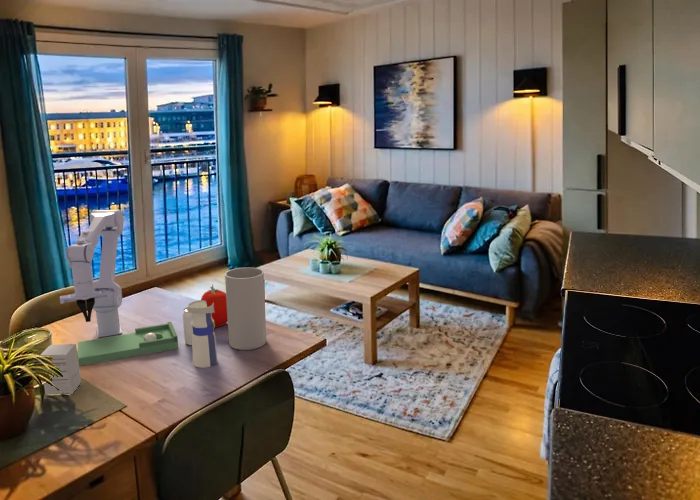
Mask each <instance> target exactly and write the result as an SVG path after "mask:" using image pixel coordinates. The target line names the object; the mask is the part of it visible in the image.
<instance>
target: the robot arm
mask: <svg viewBox="0 0 700 500" xmlns="http://www.w3.org/2000/svg"><path fill="white" fill-rule="evenodd" d="M89 222H90V224H89V227H88V229H86V230H83V231H82V232H81V233H80V235H79V237H77V240H76V241H75V242H74V244H71V245H69V246H68V247H67V249H66V254H65V257H66V260H67V262H68V265H69V266H68V267H69V268H70V269H71V272H72V280H73V289H74V292H73V293H71V294H66V295H60V296H59V302H60V305H63V304H65V303H72V302H76V305H77V308H79V310H80V312H81V313H82V314H83V317H84V319H85V323H88V322H91V319H92V313H93V311H94V312H95V316H96V317H95V318H96V324H97V326H96V335H97V338H105V337H112V336H118V335H123V331H122V325H121V323H120V317H119V308H120V307H121V305H122V303H123V294H122V293H123V292H122V286H120V285H119V284H118V283H117V282H115V273H116V261H117V252H118V241H119V236H121V235H122V234H123V230H124V223H125V219H124V214H123V212H122V211H121V209H105V210H104V209H93V210H92V211H91V212H90V215H89ZM99 236H100V237H102V247H101V257H100V266H99V277H98V278H99V279H98V281H97V282H96V283H94V276H93V268H92V261H93V259H94V254H95V248H96V246H97V245H98V244H99V241H100V237H99Z"/></svg>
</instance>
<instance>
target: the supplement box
mask: <svg viewBox="0 0 700 500" xmlns="http://www.w3.org/2000/svg"><path fill="white" fill-rule="evenodd" d="M40 355H44V356H50V357H54V359H53V360H52V361H51V362H52V364H53V365H54V366H56V367H58V368H59V370H60V371H61V373H62V375H63V377H56V376H54V377H52V383H53V384H54V385H55V386H56V387H57V388H58V389H59V391H58V390H57V389H56V388H55V387H54V386H51V385H50V384H48V383H44V382H43V387H44V393H45V395H46V394H72V393H73V392H74V391H75V390H76V389H77V390H78V388H79V387H80V386H79V384H80V383H81V384H82V377H81V371H80V370H81V369H80V366H79V362H78V348H77V344H76V343H64V344H63V343H62V344H61V343H60V344H50V346H49V345H48V347H46V349H44V350H43V351H42V352H41V354H40ZM81 384H80V385H81ZM78 386H79V387H78ZM77 387H78V388H77ZM77 390H76V391H77ZM76 391H75V392H76ZM75 392H74V393H75Z"/></svg>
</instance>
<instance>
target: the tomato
mask: <svg viewBox="0 0 700 500" xmlns="http://www.w3.org/2000/svg"><path fill="white" fill-rule="evenodd" d="M200 300H204V301H206V303H207V307H209V306H211V305H212V304H213V303H214V312H215V313H214V312H213V313H212V314H211V315H212V319H213V320H214V323H215V328H218V327H221V326H224V325H226V324H228V318H227V301H226V291H223V290H220V289H217V288H215V295H214V293H212V290H211V289H208V290H207V291H205V292H204V293H203V294H202V296H201V297H200Z"/></svg>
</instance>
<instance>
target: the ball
mask: <svg viewBox="0 0 700 500" xmlns="http://www.w3.org/2000/svg"><path fill="white" fill-rule="evenodd" d="M151 340H157V337H156V335H155V334H154V333H148V334H146V335H145V337H144V341H151Z"/></svg>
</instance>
